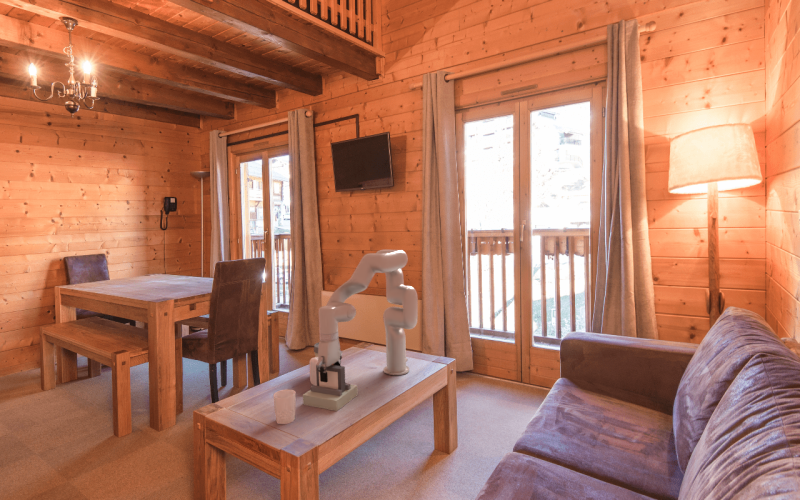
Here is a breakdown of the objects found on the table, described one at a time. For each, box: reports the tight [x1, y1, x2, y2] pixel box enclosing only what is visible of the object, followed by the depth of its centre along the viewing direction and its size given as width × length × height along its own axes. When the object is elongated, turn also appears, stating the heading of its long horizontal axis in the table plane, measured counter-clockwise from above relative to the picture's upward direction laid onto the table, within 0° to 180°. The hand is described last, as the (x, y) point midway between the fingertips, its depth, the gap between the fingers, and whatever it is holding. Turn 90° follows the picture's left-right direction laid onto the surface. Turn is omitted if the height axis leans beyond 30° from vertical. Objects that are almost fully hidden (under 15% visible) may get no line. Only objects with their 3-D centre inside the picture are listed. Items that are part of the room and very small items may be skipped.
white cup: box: [273, 389, 297, 425], centre depth 147 cm, size 8×8×10 cm
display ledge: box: [302, 382, 359, 412], centre depth 164 cm, size 16×16×6 cm
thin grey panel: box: [316, 365, 346, 393], centre depth 164 cm, size 3×12×10 cm, turn 66°
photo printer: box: [309, 356, 318, 386], centre depth 180 cm, size 10×4×12 cm, turn 39°
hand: (330, 377), depth 164 cm, fingers open, 9 cm apart
